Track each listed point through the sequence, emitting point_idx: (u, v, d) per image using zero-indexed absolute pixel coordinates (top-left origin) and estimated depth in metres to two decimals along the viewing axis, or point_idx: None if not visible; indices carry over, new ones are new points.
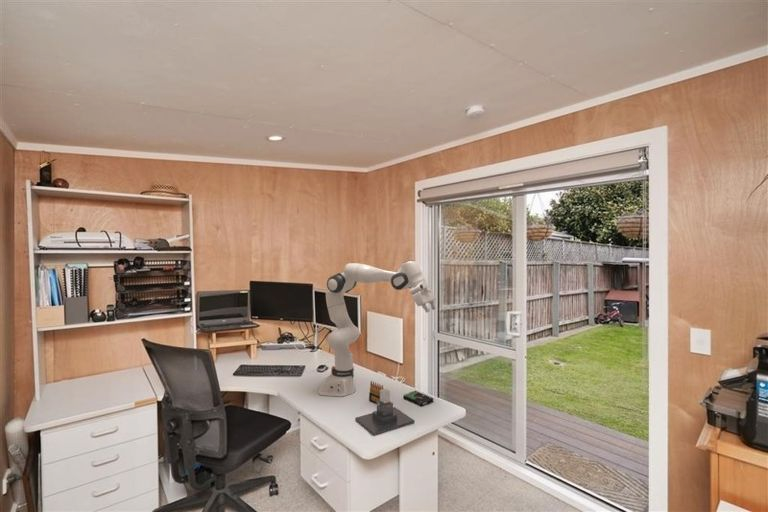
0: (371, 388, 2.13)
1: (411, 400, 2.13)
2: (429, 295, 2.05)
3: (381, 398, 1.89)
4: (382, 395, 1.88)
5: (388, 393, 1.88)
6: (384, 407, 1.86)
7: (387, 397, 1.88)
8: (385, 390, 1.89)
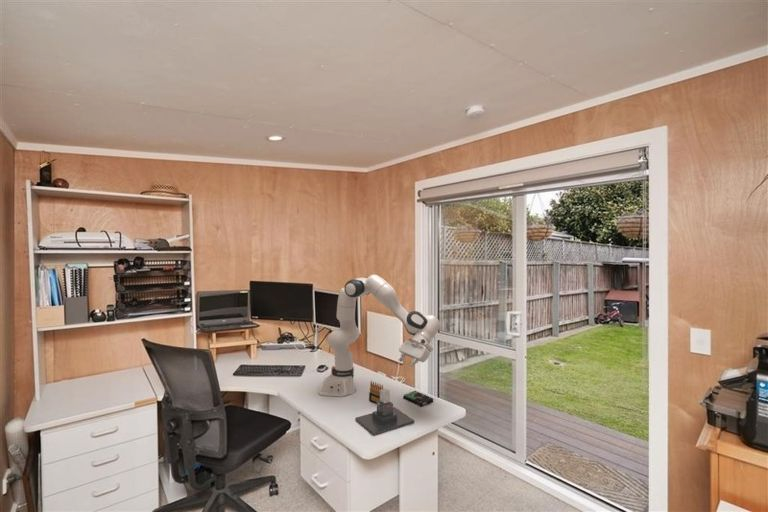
0: (371, 388, 2.13)
1: (411, 400, 2.13)
2: None
3: (381, 398, 1.89)
4: (382, 395, 1.88)
5: (388, 393, 1.88)
6: (384, 407, 1.86)
7: (387, 397, 1.88)
8: (385, 390, 1.89)
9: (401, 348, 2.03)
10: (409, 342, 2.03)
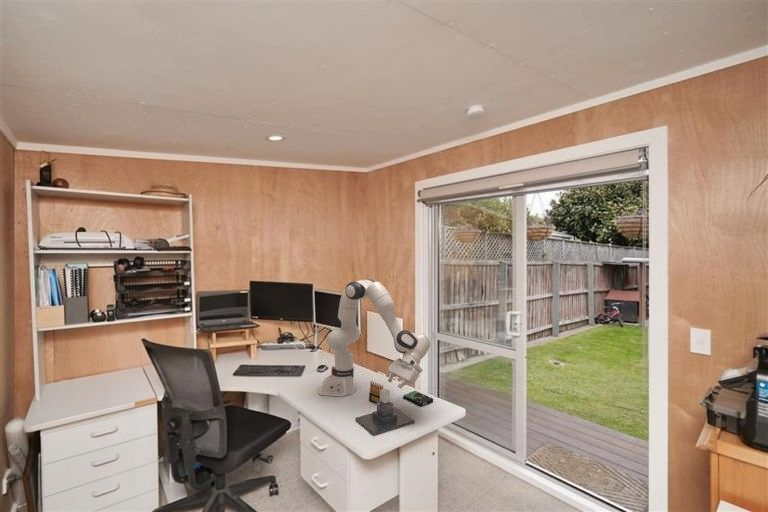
0: (371, 388, 2.13)
1: (411, 400, 2.13)
2: None
3: (381, 398, 1.89)
4: (382, 395, 1.88)
5: (388, 393, 1.88)
6: (384, 407, 1.86)
7: (387, 397, 1.88)
8: (385, 390, 1.89)
9: (390, 368, 2.00)
10: (398, 362, 1.99)
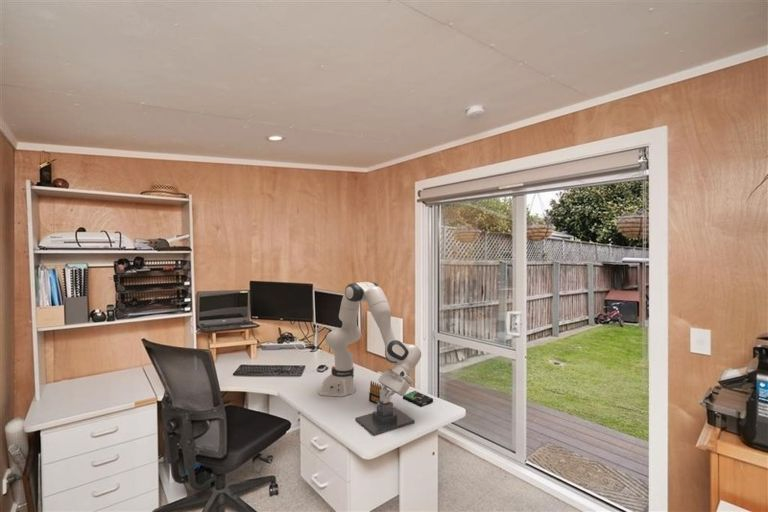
0: (371, 388, 2.13)
1: (411, 400, 2.13)
2: None
3: (381, 398, 1.89)
4: (382, 395, 1.88)
5: None
6: (384, 407, 1.86)
7: None
8: (385, 390, 1.89)
9: (380, 379, 1.97)
10: (389, 373, 1.96)
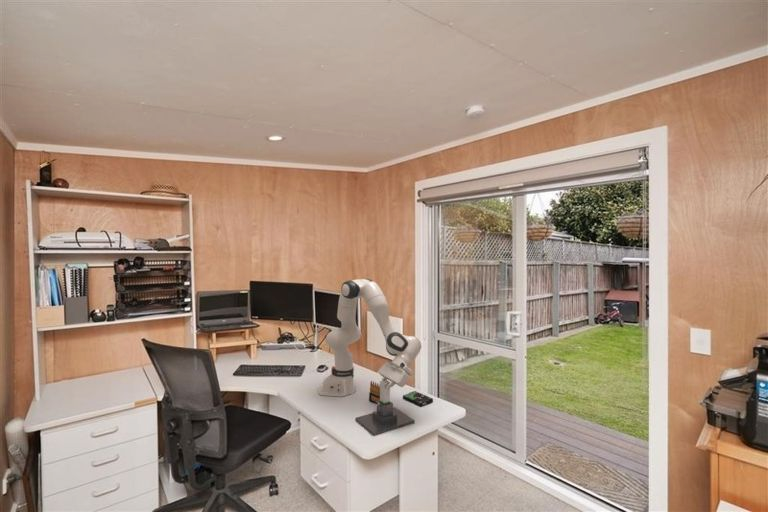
0: (371, 388, 2.13)
1: (410, 400, 2.13)
2: None
3: (381, 389, 1.88)
4: (382, 386, 1.88)
5: None
6: (384, 407, 1.86)
7: None
8: (385, 381, 1.89)
9: (381, 370, 1.97)
10: (389, 364, 1.96)
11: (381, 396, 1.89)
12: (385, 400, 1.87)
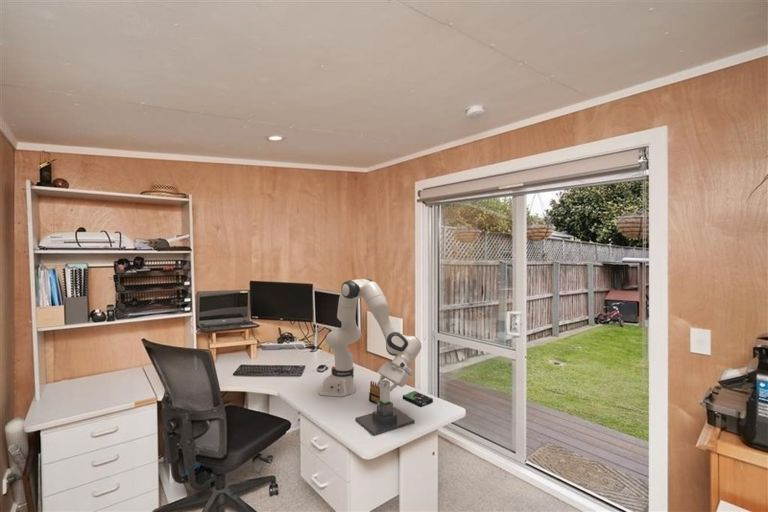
0: (371, 388, 2.13)
1: (410, 400, 2.13)
2: None
3: (381, 389, 1.88)
4: (382, 386, 1.88)
5: (388, 385, 1.88)
6: (384, 407, 1.86)
7: (387, 388, 1.88)
8: (385, 381, 1.89)
9: (381, 370, 1.97)
10: (389, 364, 1.96)
11: (381, 396, 1.89)
12: (385, 400, 1.87)
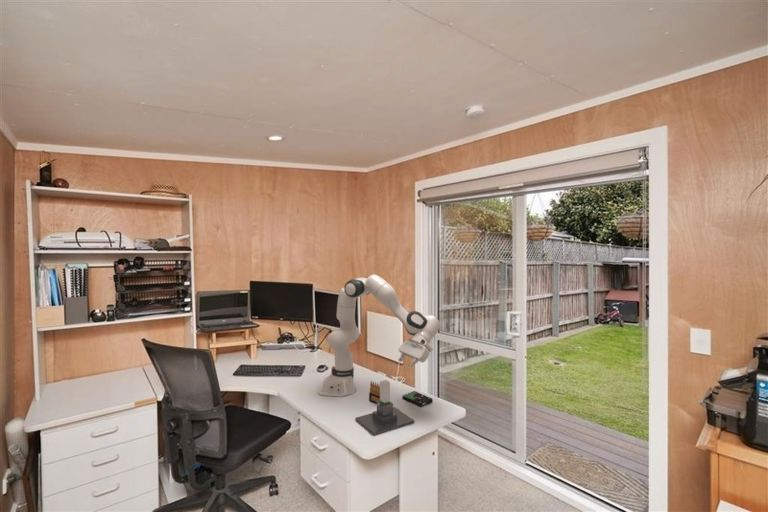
0: (371, 388, 2.13)
1: (410, 400, 2.12)
2: None
3: (381, 389, 1.88)
4: (382, 386, 1.88)
5: (388, 385, 1.88)
6: (384, 407, 1.86)
7: (387, 388, 1.88)
8: (385, 381, 1.89)
9: (401, 348, 2.03)
10: (409, 342, 2.03)
11: (381, 396, 1.89)
12: (385, 400, 1.87)
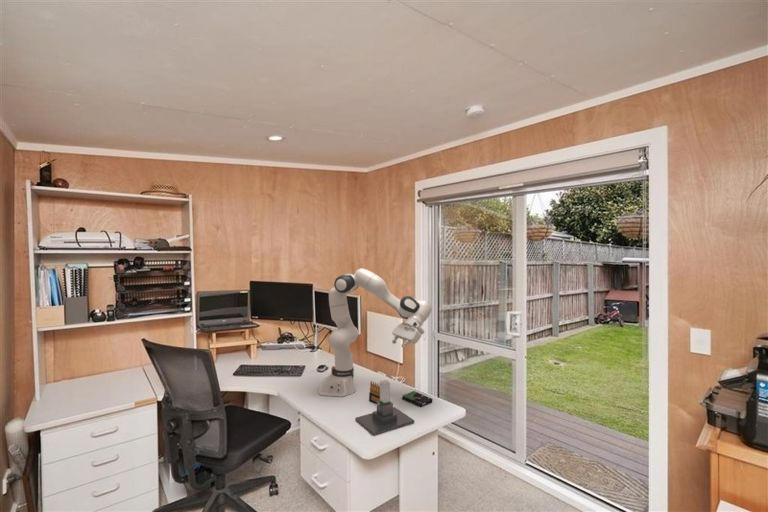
0: (371, 388, 2.13)
1: (410, 401, 2.12)
2: None
3: (381, 389, 1.88)
4: (382, 386, 1.88)
5: (388, 385, 1.88)
6: (384, 407, 1.86)
7: (387, 388, 1.88)
8: (385, 381, 1.89)
9: (394, 331, 2.14)
10: (402, 325, 2.14)
11: (381, 396, 1.89)
12: (385, 400, 1.87)
